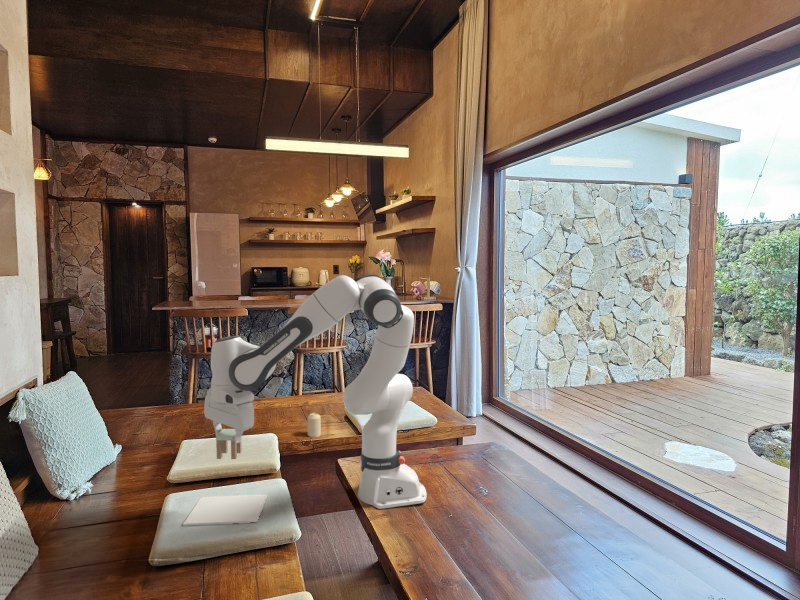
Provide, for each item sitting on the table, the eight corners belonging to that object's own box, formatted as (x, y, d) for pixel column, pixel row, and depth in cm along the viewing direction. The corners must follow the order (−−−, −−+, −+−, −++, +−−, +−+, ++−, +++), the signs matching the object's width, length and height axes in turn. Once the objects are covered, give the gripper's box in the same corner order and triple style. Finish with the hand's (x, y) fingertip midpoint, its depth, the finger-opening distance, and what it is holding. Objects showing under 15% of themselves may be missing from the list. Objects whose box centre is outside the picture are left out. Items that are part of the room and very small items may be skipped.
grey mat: (267, 496, 152) (267, 494, 152) (257, 522, 136) (257, 520, 136) (201, 498, 150) (201, 496, 150) (183, 525, 134) (183, 523, 134)
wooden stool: (241, 451, 146) (241, 428, 145) (235, 459, 140) (235, 435, 140) (223, 451, 146) (223, 428, 145) (216, 459, 140) (215, 435, 140)
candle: (318, 439, 203) (317, 416, 202) (305, 438, 204) (305, 415, 203) (322, 435, 208) (322, 412, 207) (310, 434, 209) (310, 411, 208)
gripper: (198, 388, 145) (199, 433, 146) (238, 400, 133) (239, 449, 134) (217, 384, 150) (218, 428, 151) (257, 395, 138) (258, 443, 139)
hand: (228, 438), depth 142 cm, fingers closed on wooden stool, 8 cm apart
